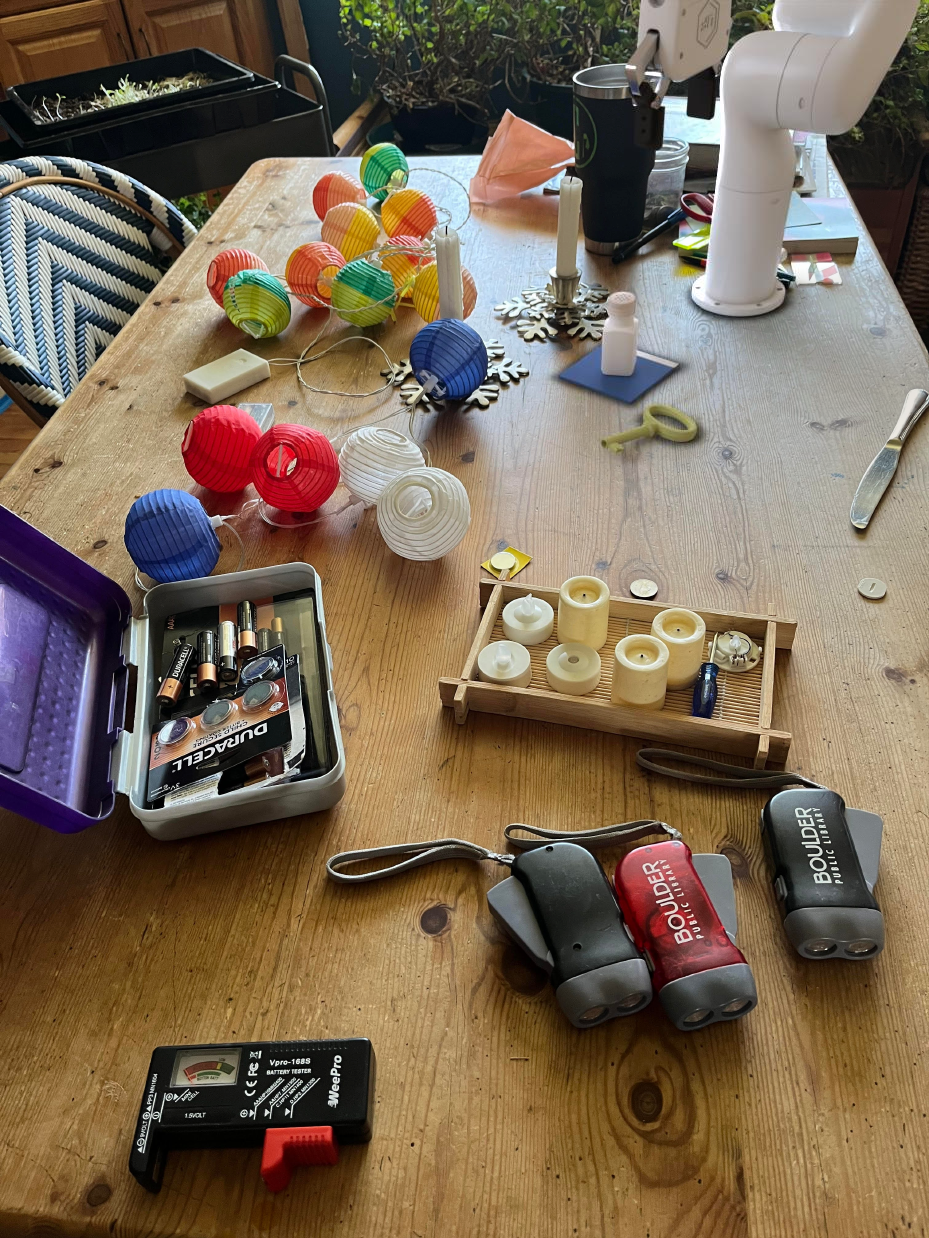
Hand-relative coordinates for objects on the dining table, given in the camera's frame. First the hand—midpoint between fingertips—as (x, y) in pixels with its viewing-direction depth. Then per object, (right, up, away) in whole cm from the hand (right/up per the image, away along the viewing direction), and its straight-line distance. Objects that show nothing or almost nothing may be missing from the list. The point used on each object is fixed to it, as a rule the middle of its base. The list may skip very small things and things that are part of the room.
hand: (674, 132), depth 92 cm
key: (-1, -31, +8) cm, 32 cm away
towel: (-3, -20, +18) cm, 28 cm away
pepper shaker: (-3, -20, +18) cm, 27 cm away
